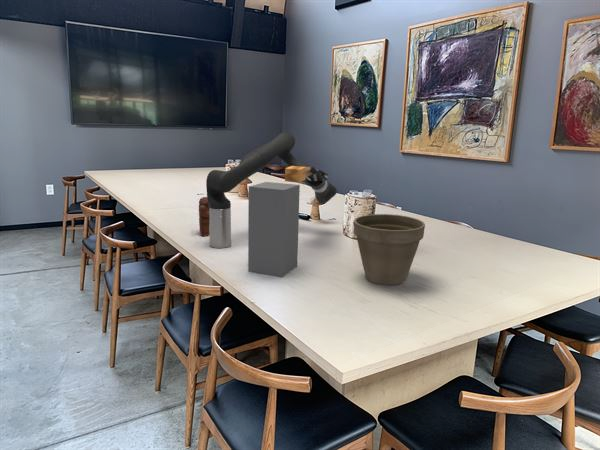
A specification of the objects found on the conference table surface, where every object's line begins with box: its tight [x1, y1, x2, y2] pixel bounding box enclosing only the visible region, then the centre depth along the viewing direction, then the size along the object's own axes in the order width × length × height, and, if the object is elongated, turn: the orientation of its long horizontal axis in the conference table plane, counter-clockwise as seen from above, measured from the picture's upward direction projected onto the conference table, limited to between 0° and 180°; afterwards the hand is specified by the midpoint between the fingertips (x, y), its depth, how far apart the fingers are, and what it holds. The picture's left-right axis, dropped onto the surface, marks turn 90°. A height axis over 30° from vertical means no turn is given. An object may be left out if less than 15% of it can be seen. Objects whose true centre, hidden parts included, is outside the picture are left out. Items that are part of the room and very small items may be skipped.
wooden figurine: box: [198, 196, 210, 237], centre depth 223 cm, size 12×6×18 cm, turn 16°
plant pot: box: [353, 213, 426, 286], centre depth 168 cm, size 25×25×22 cm
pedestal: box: [247, 181, 301, 278], centre depth 174 cm, size 14×14×32 cm
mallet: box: [284, 166, 312, 184], centre depth 188 cm, size 6×22×5 cm, turn 160°
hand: (307, 168), depth 194 cm, fingers closed on mallet, 3 cm apart
